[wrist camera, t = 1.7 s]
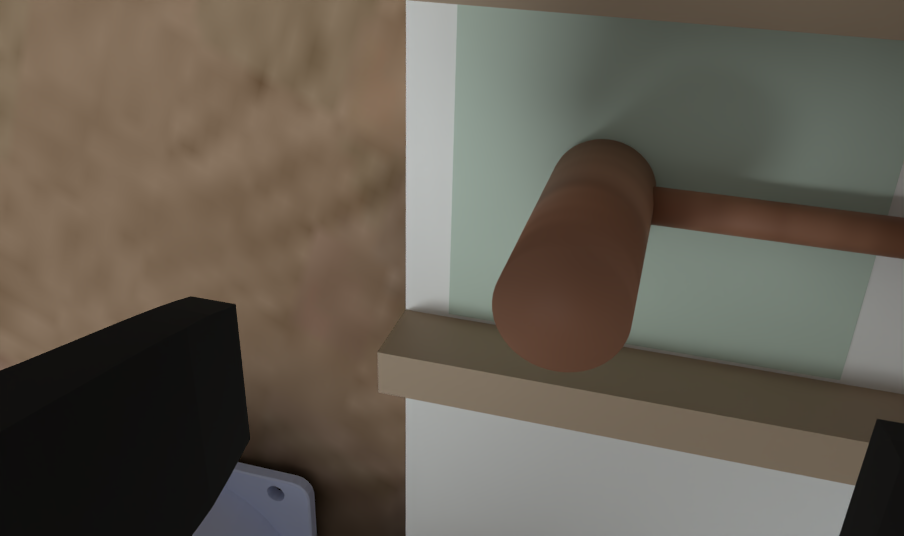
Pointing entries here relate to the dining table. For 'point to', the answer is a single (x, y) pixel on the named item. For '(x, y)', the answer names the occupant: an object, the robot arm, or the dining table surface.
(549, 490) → the wooden frame
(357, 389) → the dining table surface
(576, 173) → the wooden mallet
